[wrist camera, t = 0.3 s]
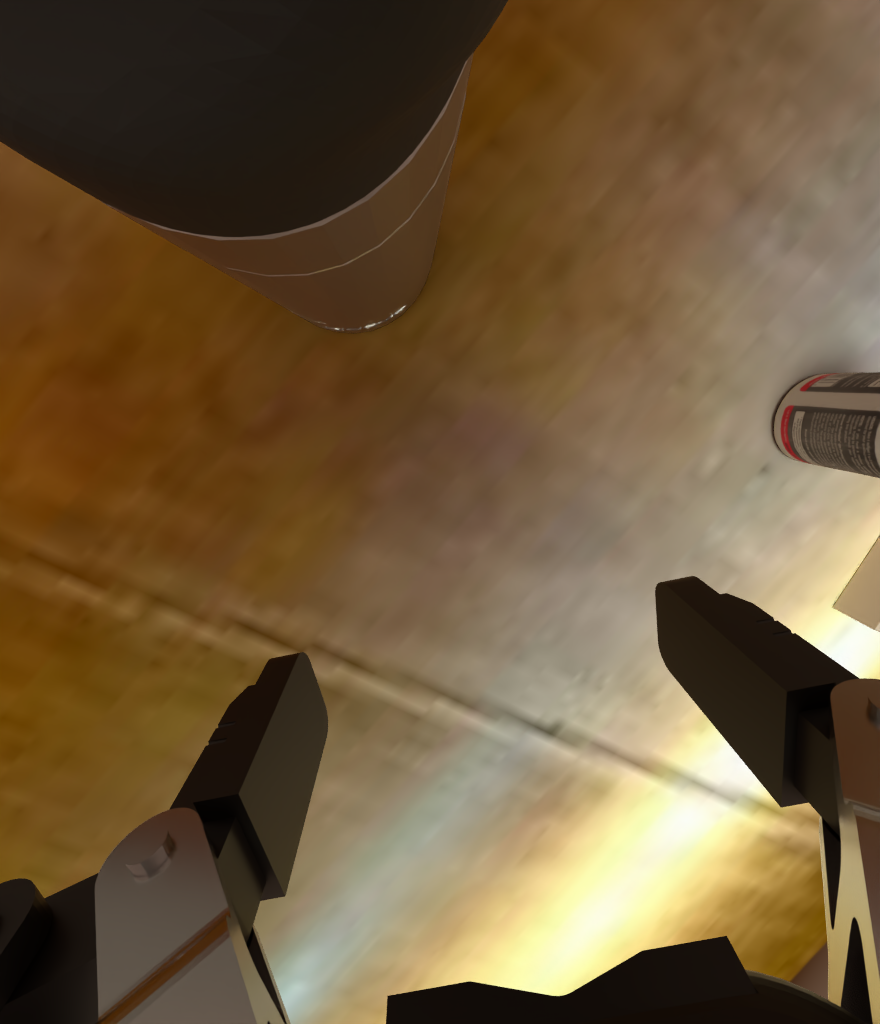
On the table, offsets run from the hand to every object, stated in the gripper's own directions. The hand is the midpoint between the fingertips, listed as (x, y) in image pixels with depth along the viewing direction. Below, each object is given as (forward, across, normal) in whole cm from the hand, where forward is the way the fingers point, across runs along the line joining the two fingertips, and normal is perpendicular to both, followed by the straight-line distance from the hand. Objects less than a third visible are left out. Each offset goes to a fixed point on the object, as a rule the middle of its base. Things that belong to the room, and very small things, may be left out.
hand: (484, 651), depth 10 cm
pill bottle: (+19, -23, +1) cm, 30 cm away
